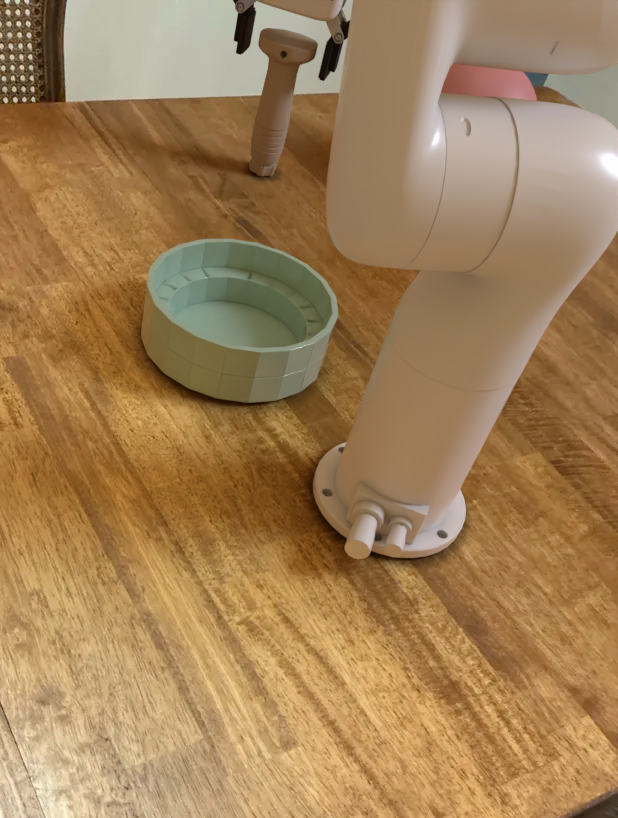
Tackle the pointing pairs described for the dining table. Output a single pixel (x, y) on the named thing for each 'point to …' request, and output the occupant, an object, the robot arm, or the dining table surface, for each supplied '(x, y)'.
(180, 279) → the bowl
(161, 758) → the dining table surface
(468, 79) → the balloon
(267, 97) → the handle
